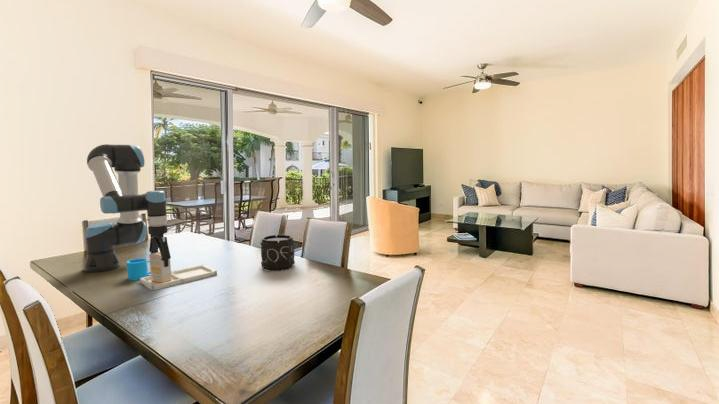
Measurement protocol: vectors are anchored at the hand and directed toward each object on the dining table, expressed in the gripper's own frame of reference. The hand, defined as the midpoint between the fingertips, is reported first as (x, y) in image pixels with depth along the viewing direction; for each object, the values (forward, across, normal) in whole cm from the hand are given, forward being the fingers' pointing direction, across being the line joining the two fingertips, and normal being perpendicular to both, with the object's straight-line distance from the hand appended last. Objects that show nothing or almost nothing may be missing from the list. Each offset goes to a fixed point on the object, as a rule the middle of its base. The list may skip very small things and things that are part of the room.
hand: (160, 270), depth 161 cm
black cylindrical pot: (+6, +19, +51) cm, 55 cm away
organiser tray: (+6, 0, +8) cm, 10 cm away
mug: (+6, -17, -3) cm, 18 cm away
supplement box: (+5, 0, 0) cm, 5 cm away
